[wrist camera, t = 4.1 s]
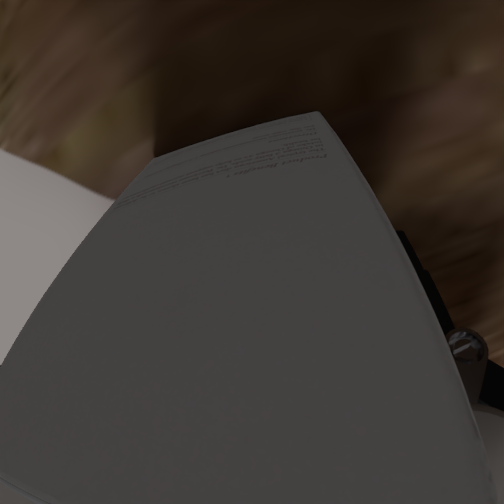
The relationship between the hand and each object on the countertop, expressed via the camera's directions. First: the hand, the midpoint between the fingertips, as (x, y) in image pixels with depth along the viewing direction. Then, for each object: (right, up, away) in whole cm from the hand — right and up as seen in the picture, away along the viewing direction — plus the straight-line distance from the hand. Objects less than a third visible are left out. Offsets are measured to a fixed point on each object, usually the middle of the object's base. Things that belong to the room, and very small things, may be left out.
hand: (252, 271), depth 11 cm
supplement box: (0, +3, +3) cm, 4 cm away
